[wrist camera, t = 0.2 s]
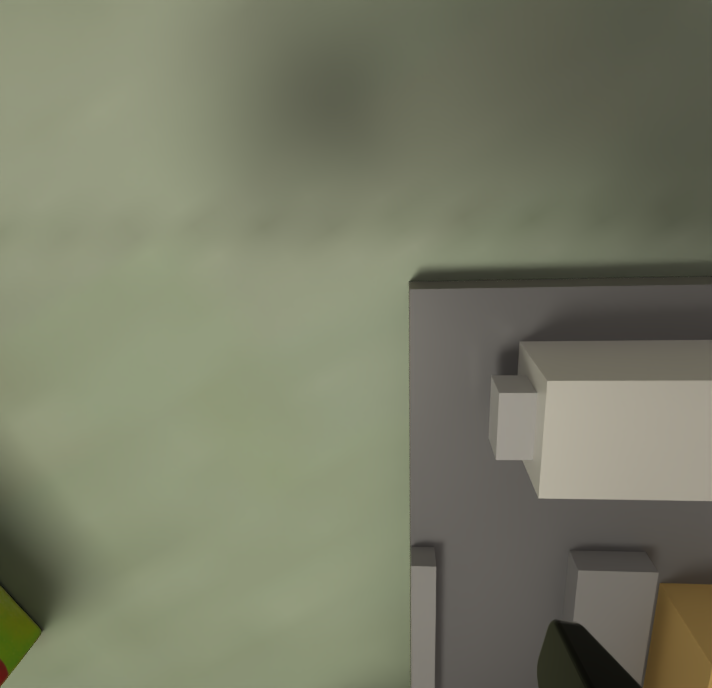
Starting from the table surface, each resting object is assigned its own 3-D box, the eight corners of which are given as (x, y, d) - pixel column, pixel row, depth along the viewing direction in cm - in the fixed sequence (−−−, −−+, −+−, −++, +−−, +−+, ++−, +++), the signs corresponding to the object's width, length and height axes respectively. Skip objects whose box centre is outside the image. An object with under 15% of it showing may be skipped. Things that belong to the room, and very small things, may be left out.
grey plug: (731, 441, 21) (806, 502, 17) (482, 439, 21) (500, 497, 17) (750, 339, 19) (836, 380, 16) (486, 341, 20) (506, 381, 16)
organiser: (740, 742, 27) (776, 803, 24) (410, 725, 28) (411, 781, 25) (852, 273, 20) (918, 288, 17) (409, 281, 21) (410, 296, 19)
